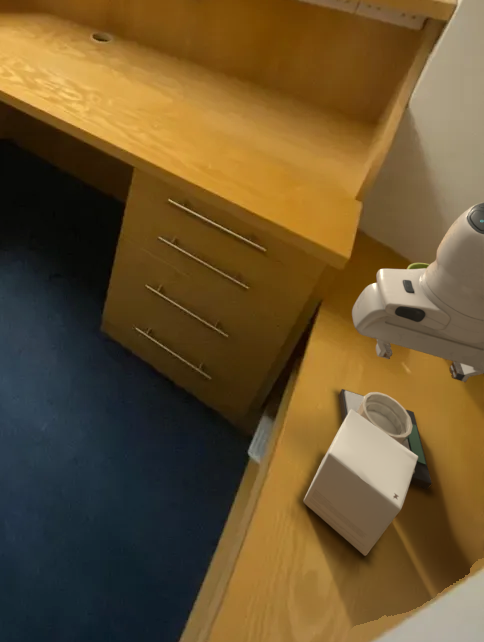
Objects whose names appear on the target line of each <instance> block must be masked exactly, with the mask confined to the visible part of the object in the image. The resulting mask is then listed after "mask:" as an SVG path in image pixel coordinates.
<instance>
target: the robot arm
mask: <svg viewBox="0 0 484 642" xmlns="http://www.w3.org/2000/svg"><path fill="white" fill-rule="evenodd" d="M435 257H436V258H435V260H434V261H433V262H431V263H429V264H430V265H429V266H428V267H427V268H423V269H407V268H406V269H405V268H380V269H378V270H377V272H376V275H375V276H376V282H374V283H370V284H369V285H367V286H365V288H364V289H363V290H362V292H361V293H360V294H359V296H358V297H357V298H356V301H355V302H354V304H353V306H352V309H351V316H352V317H351V318H352V322H353V326H354V328H355V331H356V332H357V333H358V334H359V335H361V336H364V337H368V338H370V339H375V340H376V345H375V352H376V356H377V357H379V358H383V359H385V360H390V359H391V357H392V356H393V350H392V345H395V346H399V347H403V348H405V349H409V350H412V351H416V352H420V353H423V354H426V355H430V356H433V357H437V358H440V359H444V360H447V361H451V362H452V363H451V365H450V366H449V369H448V370H449V373H450V377H451V379H453V380H457V381H459V382H463V383H466V382H467V380H468V379H469V378H471V377H475V376H479V375H483V374H484V201H483V202H479V203H476V204H474V205H472V206H470V207H468V208H467V209H466V210H465V211H463V212H462V213H461V214H460V215H459V216H458V217H457V218H456V219H455V220H454V221H453V223H452V224H451V226H450V227H449V228H448V230H447V231H446V233H445V235H444V236H443V238H442V239H441V242H440V243H439V245H438V246H437V249H436V255H435ZM391 344H392V345H391Z"/></svg>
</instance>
